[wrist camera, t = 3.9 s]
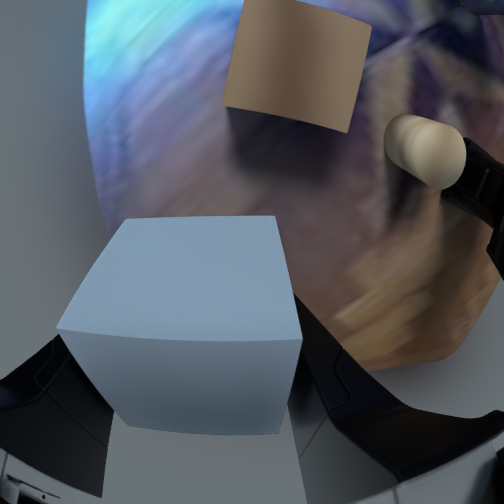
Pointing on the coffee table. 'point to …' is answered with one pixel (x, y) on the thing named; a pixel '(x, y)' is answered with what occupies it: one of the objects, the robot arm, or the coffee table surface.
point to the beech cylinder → (426, 149)
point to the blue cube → (189, 325)
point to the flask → (484, 7)
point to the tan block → (297, 62)
